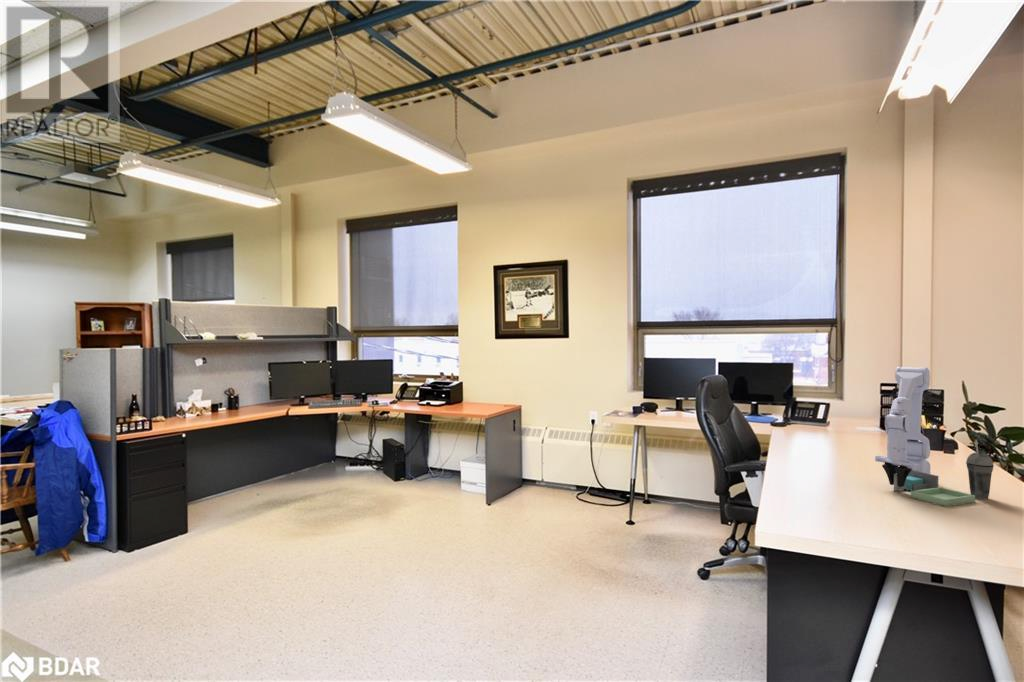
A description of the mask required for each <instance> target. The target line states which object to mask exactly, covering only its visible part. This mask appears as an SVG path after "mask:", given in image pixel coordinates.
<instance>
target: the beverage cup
mask: <svg viewBox="0 0 1024 682" xmlns="http://www.w3.org/2000/svg"><path fill="white" fill-rule="evenodd" d="M974 443H975V451H976V452H973V453H970V454H969V455H968V456H967V458H966V462H965V465H966V468H967V472H968V481H969V482H968V484H969V493H970V494H971V495H975V499H976V498H978V500H983V499H987V500H989V497H990V490H991V482H992V475H993V474H992V473H993V471H994V466H995V465H994V461H993V459H992V458H991V457H990V456H989V455H988V454H987V453H984V452H979V446H978V439H974Z"/></svg>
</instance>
